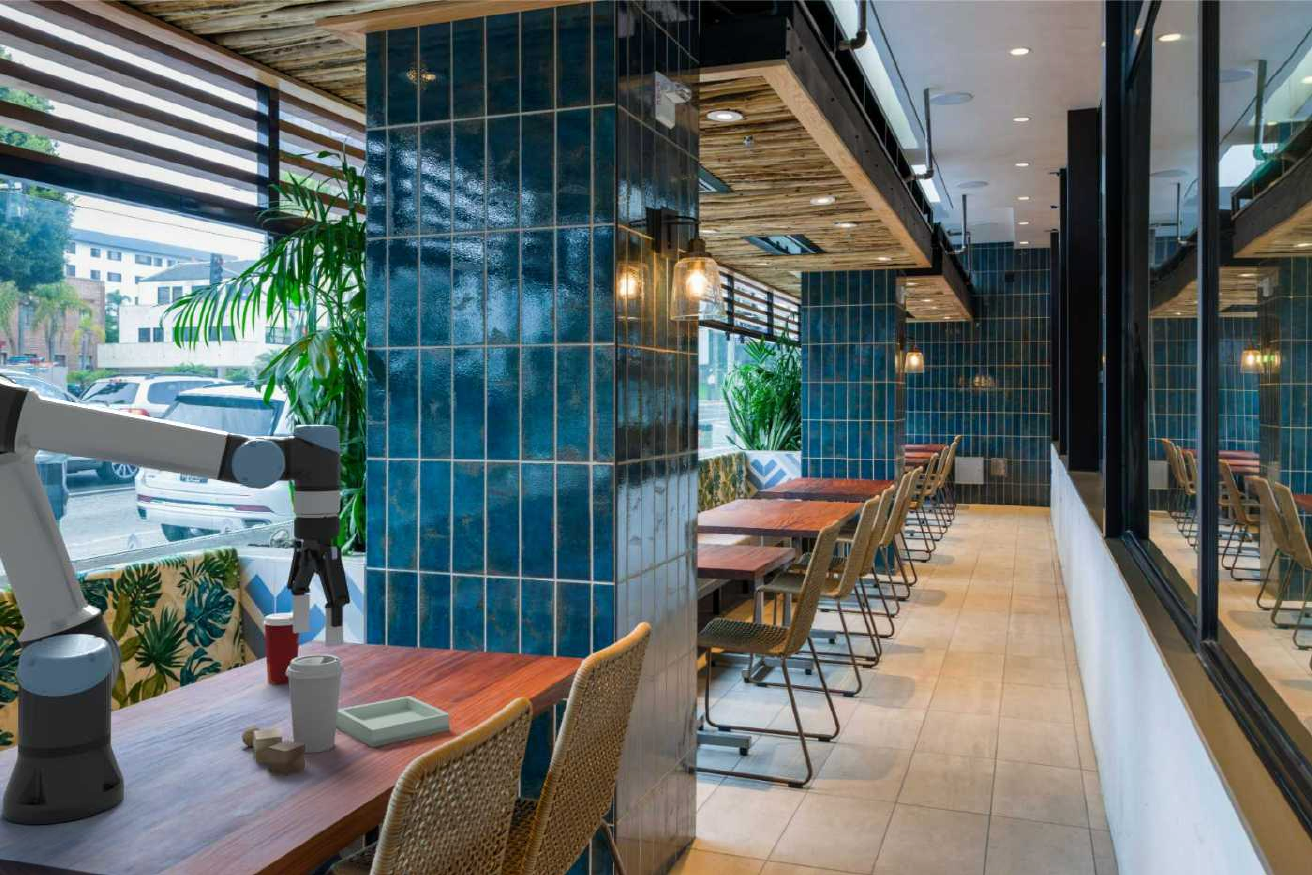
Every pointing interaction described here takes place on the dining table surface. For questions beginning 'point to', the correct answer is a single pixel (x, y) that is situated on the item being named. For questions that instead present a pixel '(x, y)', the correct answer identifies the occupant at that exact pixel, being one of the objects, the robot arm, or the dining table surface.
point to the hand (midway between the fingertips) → (317, 638)
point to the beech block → (264, 743)
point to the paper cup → (280, 646)
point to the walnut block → (286, 758)
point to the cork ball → (249, 736)
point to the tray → (392, 721)
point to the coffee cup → (314, 700)
